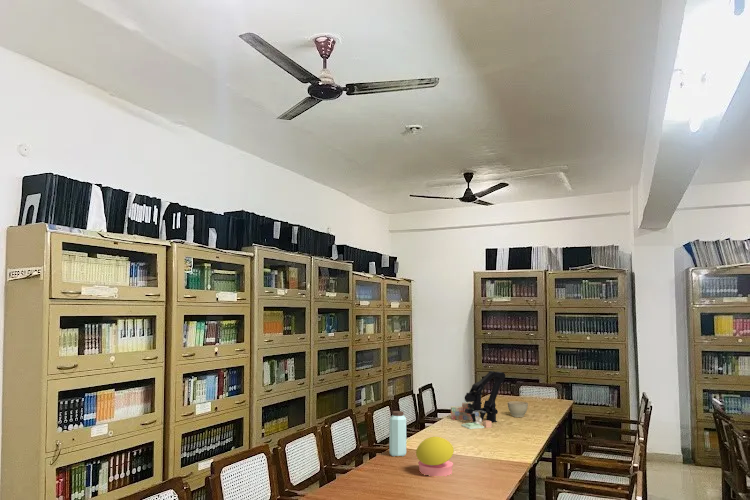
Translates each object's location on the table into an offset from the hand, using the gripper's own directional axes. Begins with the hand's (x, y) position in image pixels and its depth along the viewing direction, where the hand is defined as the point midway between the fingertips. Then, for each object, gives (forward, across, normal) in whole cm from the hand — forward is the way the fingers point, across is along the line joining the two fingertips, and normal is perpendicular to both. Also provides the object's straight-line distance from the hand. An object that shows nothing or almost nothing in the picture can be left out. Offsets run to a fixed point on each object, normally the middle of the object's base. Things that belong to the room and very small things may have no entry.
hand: (477, 422), depth 435 cm
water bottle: (+1, +93, +67) cm, 115 cm away
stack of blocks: (+1, 0, -19) cm, 19 cm away
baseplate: (+1, +10, +10) cm, 14 cm away
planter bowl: (+1, -46, -15) cm, 48 cm away
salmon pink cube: (+1, 0, +14) cm, 14 cm away
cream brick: (+1, 0, 0) cm, 1 cm away
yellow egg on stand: (+1, +88, +107) cm, 139 cm away
